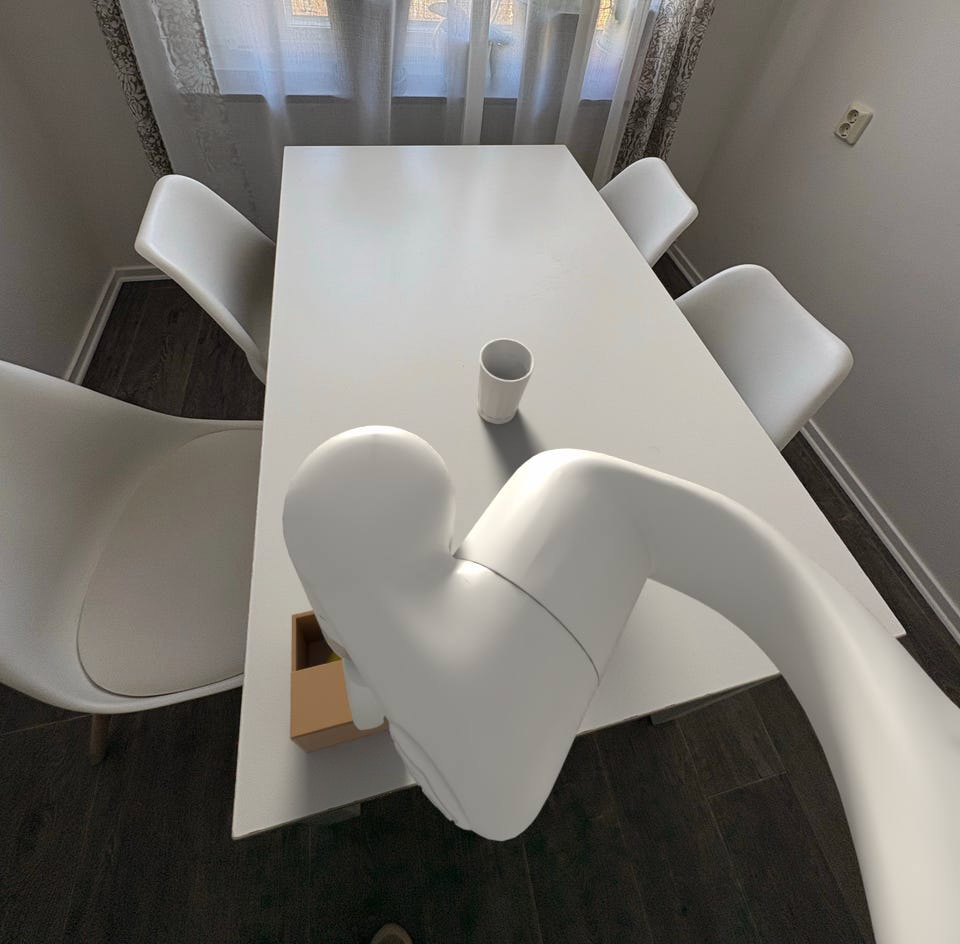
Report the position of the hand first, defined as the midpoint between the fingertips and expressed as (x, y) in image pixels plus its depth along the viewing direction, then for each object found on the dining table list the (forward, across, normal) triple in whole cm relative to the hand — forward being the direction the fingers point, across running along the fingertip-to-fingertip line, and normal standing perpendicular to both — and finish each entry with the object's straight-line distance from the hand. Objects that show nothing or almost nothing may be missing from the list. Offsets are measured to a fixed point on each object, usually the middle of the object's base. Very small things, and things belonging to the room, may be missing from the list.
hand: (391, 662), depth 43 cm
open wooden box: (+18, -3, -4) cm, 19 cm away
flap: (+7, 0, -4) cm, 9 cm away
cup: (+18, -34, +20) cm, 44 cm away
